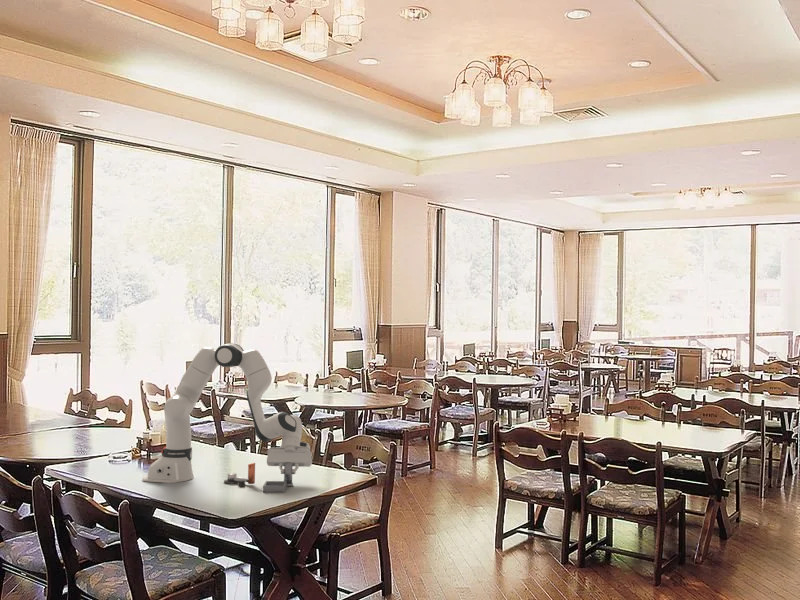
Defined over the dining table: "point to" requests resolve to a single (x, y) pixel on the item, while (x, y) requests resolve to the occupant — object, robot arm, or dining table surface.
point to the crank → (250, 478)
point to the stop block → (241, 483)
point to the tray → (275, 486)
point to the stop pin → (288, 473)
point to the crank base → (231, 482)
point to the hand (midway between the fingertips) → (288, 473)
